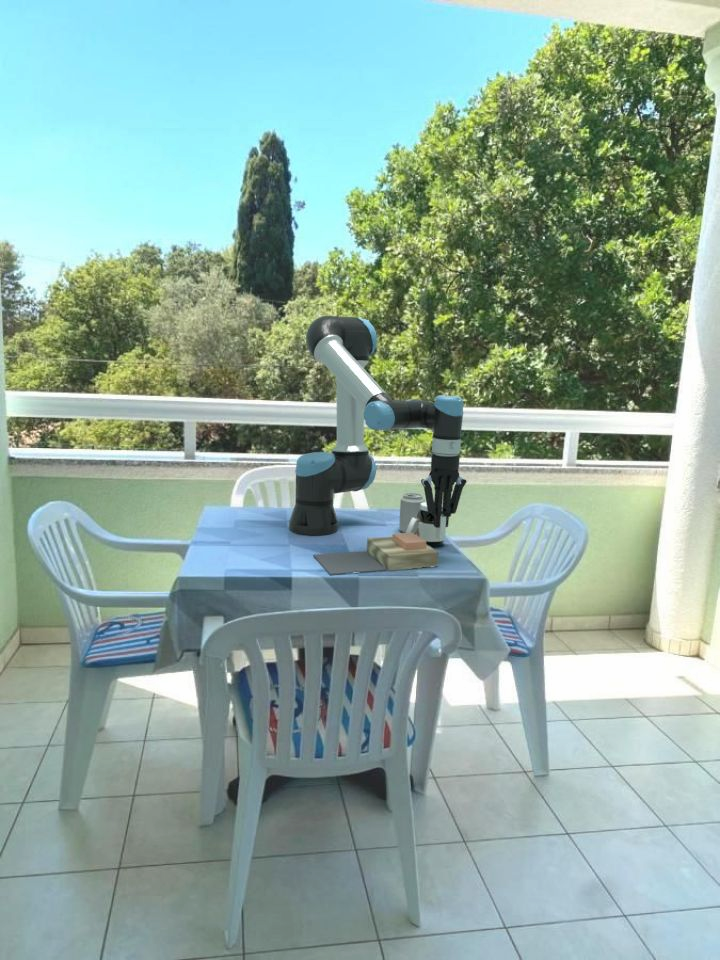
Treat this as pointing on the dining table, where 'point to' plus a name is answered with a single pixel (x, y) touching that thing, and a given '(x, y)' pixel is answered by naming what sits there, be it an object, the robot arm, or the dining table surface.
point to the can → (409, 509)
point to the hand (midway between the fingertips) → (440, 538)
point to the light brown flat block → (409, 541)
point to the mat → (348, 562)
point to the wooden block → (400, 555)
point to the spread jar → (425, 526)
